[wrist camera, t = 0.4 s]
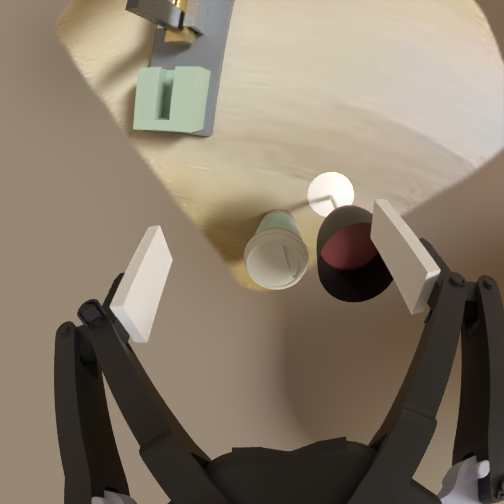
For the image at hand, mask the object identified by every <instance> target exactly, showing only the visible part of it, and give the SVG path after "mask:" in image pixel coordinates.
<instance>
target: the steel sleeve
mask: <svg viewBox="0 0 504 504" xmlns="http://www.w3.org/2000/svg"><path fill="white" fill-rule="evenodd" d="M169 1H170V2H171V3H173V4H174V3H175V0H169ZM211 3H212V0H188V4H187V8H186V12H185V17H184V22H183V27H191V28H193V29H194V30H195V31H197V32H196V35H205V32H206V27H207V22H208V17H209V12H210V8H211ZM157 29H159V30H161V31H164V32H166V30H167V29H166V28H164V27H162V26H160V25H158V26H157Z"/></svg>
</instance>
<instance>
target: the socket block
mask: <svg viewBox="0 0 504 504" xmlns="http://www.w3.org/2000/svg"><path fill="white" fill-rule="evenodd" d="M210 74H211V71H209V70H207V69H205V68H202V67H197V66H176V67H175V70H165V69H162V67H148V68H139V71H138V79H137V88H136V98H135V110H134V124H133V130H160V131H176V132H189V133H192V132H195V131H199V130H202V129H203V126H204V118H205V110H206V102H207V95H208V87H209V81H210Z"/></svg>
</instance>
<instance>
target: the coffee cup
mask: <svg viewBox="0 0 504 504" xmlns="http://www.w3.org/2000/svg"><path fill="white" fill-rule="evenodd" d="M308 260H309V255H308V250H307V247H306V245H305V244H304V242H303V241H302V239H301V236H300V233H299V230H298V226H297V224H296V221H295V219H294V217H293V216H292V215H291V214H290V213H288V212H286V211H284V210H273V211H271V212H269V213H267V214H266V215H265V216H264V218H263V219H262V221H261V223H260V225H259V227H258V229H257V230H256V232H255V234H254V236H253V237H252V238H251V239H250V240H249V242H248V243H247V245H246V247H245V250H244V264H245V267H246V269H247V272H248V274H249V276H250V277H251V278H252V280H253V281H254V282H256V283H257V284H258V285H260V286H262V287H265V288H268V289H275V290H278V289H285V288H288V287H290V286H292V285H294V284H295V283H297V282H298V281H299V279H300V278H301V277H302V275H303V274H304V273H305V271H306V268H307V265H308Z"/></svg>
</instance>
